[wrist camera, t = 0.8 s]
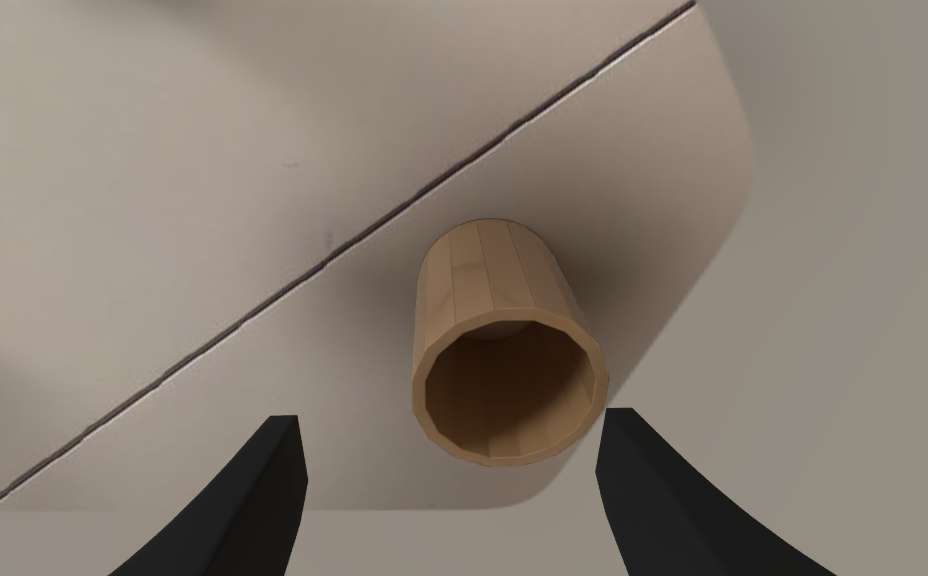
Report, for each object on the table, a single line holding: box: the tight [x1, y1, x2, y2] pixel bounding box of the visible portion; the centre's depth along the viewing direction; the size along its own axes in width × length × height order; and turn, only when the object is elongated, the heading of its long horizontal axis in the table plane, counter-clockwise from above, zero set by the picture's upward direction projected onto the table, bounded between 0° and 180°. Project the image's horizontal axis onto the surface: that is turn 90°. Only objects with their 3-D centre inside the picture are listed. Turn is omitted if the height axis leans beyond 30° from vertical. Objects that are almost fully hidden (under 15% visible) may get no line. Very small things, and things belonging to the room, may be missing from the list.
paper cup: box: [411, 219, 609, 467], centre depth 18 cm, size 6×6×7 cm
